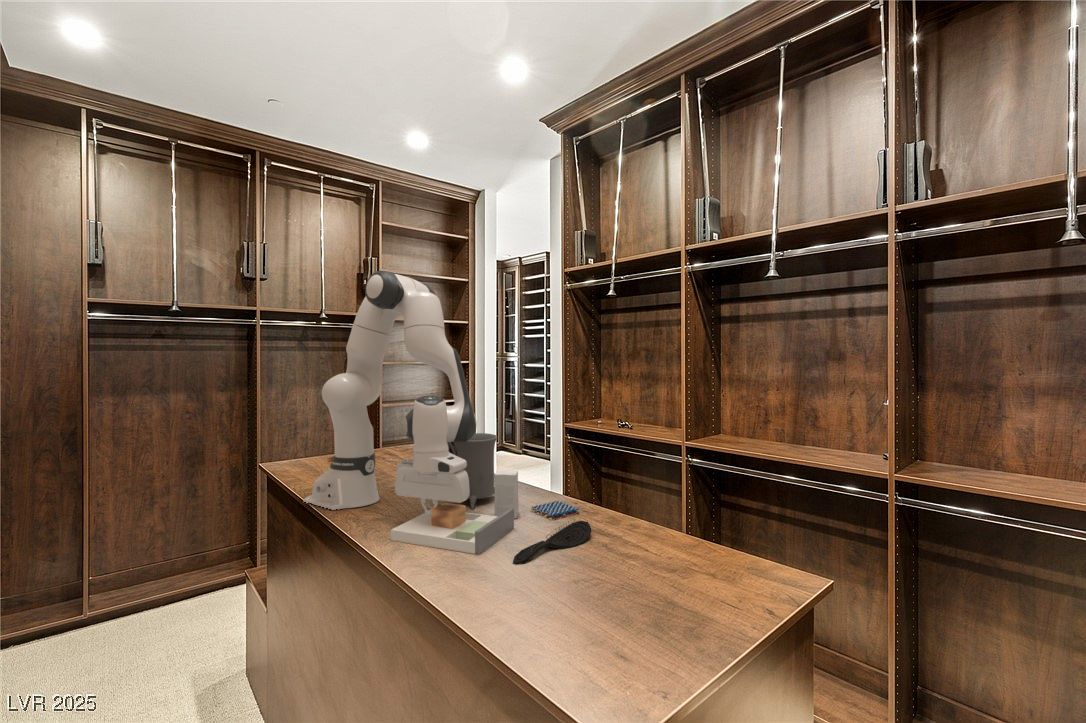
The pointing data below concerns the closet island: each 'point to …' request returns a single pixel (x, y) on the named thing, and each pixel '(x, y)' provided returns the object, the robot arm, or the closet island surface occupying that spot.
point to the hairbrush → (557, 541)
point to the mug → (478, 464)
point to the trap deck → (456, 532)
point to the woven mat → (555, 510)
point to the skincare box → (506, 492)
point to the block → (448, 515)
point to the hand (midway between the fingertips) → (431, 516)
